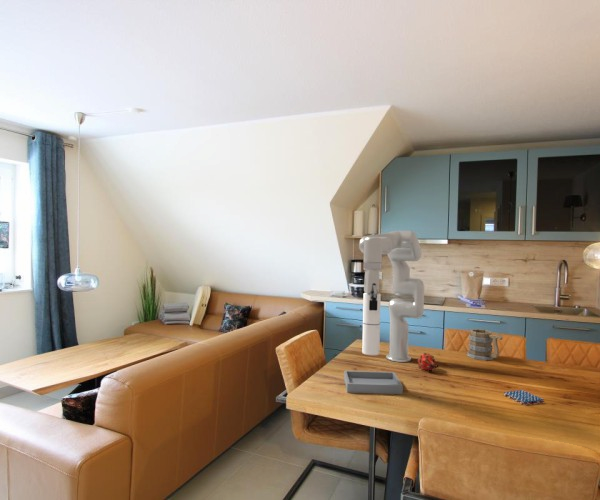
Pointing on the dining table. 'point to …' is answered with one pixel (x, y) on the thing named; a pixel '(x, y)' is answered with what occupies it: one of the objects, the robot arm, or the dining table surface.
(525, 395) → the woven mat
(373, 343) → the cylindrical container
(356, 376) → the tray
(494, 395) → the dining table surface
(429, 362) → the dragon fruit
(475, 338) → the tankard
